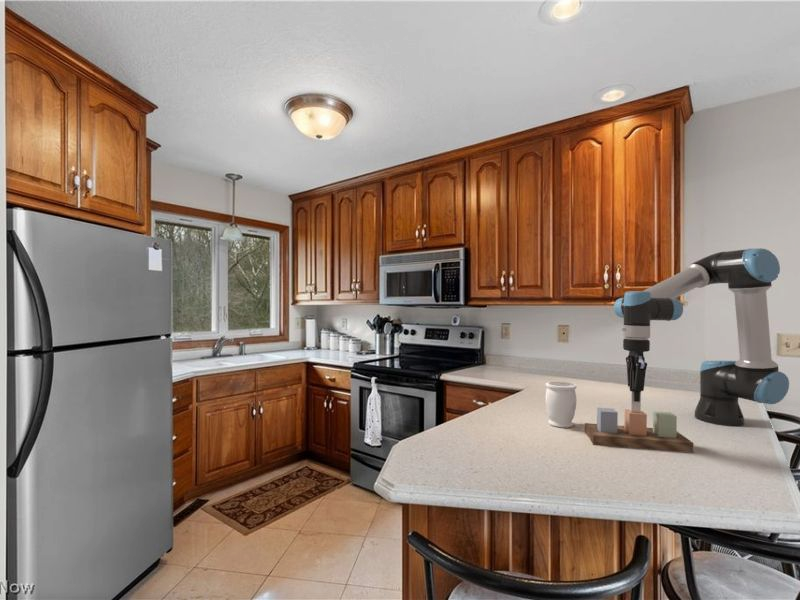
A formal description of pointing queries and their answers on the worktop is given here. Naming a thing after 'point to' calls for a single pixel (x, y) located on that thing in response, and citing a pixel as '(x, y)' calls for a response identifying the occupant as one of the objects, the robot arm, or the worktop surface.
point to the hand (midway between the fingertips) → (635, 410)
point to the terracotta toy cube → (635, 423)
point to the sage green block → (664, 424)
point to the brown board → (638, 440)
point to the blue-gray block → (607, 420)
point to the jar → (560, 403)
